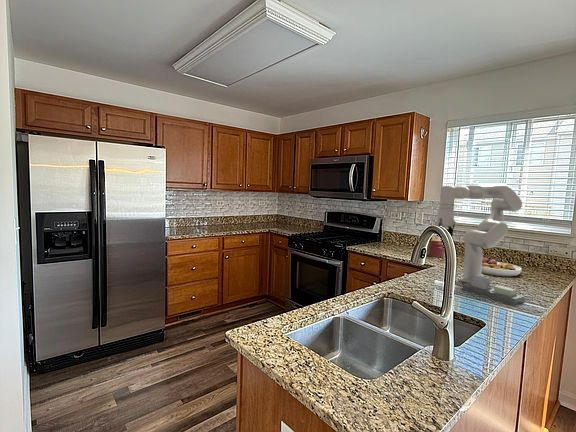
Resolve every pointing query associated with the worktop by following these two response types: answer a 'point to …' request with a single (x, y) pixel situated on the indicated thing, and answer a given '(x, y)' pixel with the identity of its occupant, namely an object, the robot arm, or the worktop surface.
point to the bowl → (499, 268)
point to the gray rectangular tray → (494, 294)
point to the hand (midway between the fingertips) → (444, 236)
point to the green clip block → (505, 291)
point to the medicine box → (481, 282)
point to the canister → (435, 248)
